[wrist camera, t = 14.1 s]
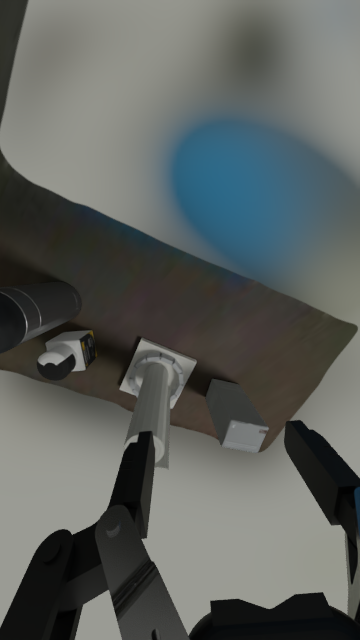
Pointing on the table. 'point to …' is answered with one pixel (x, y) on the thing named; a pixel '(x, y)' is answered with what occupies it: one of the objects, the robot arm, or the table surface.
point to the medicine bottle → (67, 354)
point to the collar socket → (158, 354)
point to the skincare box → (235, 417)
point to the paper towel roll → (153, 412)
